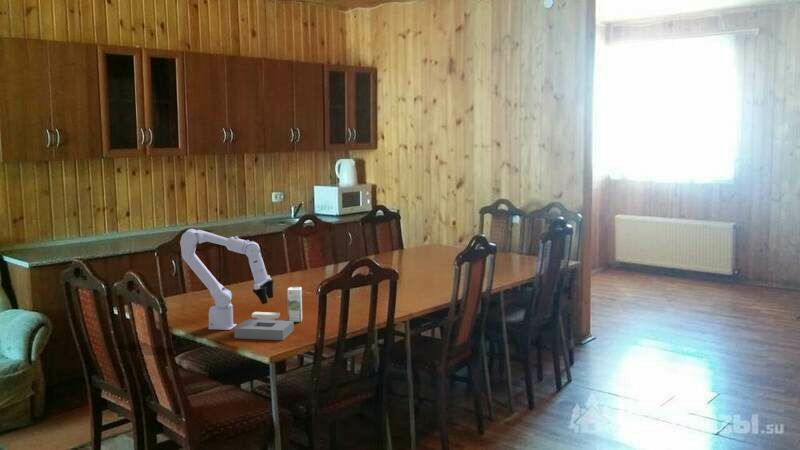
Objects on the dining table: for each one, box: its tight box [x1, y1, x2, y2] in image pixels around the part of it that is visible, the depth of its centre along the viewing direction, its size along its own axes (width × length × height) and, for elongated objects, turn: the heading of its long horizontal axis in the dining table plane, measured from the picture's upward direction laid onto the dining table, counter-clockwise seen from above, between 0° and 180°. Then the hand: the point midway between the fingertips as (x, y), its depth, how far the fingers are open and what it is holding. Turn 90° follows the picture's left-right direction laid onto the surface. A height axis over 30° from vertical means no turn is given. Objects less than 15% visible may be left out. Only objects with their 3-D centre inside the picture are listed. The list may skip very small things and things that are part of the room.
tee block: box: [251, 311, 281, 320], centre depth 306 cm, size 11×4×5 cm, turn 81°
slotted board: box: [233, 318, 295, 341], centre depth 293 cm, size 20×14×4 cm
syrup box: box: [286, 286, 303, 323], centre depth 313 cm, size 6×6×14 cm
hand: (268, 300), depth 304 cm, fingers open, 7 cm apart
